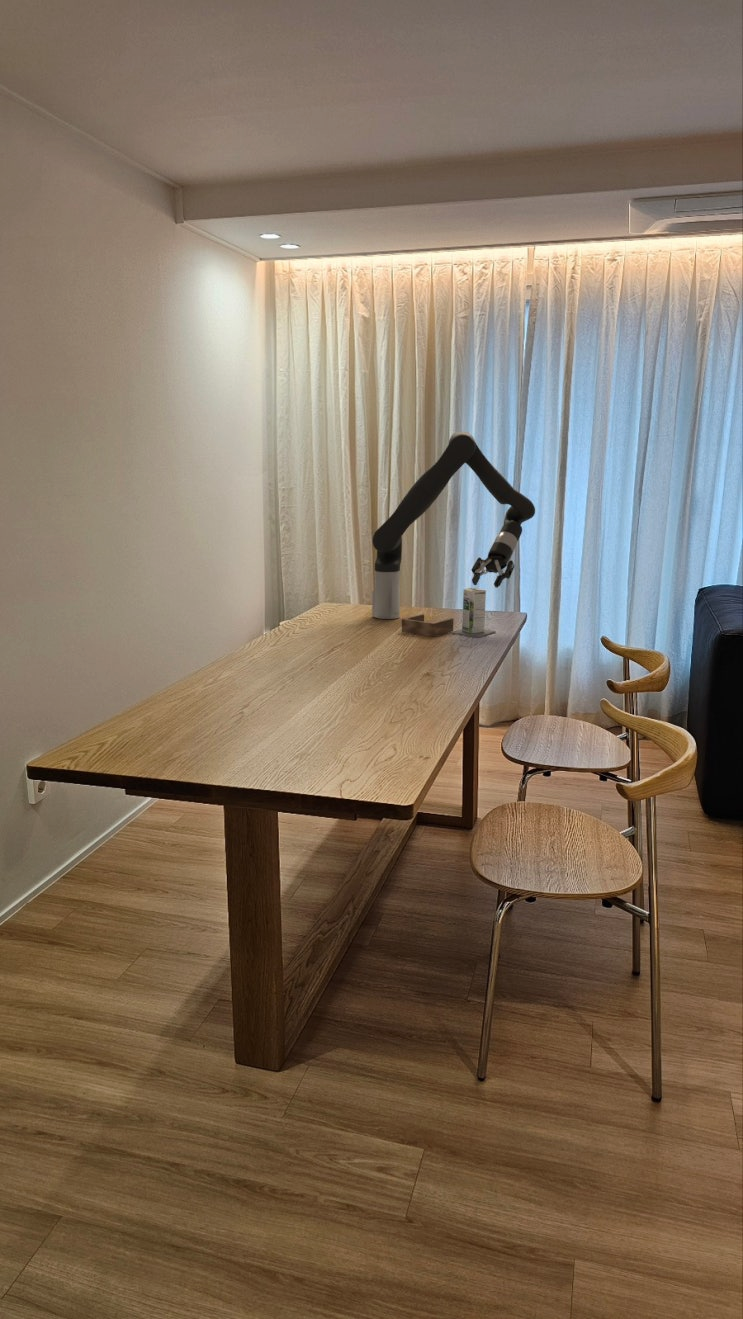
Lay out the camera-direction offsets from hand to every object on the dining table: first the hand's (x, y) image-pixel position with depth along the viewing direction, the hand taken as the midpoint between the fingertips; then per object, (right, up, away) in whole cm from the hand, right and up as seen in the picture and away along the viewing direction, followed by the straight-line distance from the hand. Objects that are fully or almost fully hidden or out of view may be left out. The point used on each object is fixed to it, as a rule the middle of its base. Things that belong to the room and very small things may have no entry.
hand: (484, 584), depth 314 cm
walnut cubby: (-19, -16, +1) cm, 25 cm away
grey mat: (-4, -16, -1) cm, 17 cm away
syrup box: (-4, -16, -1) cm, 17 cm away
